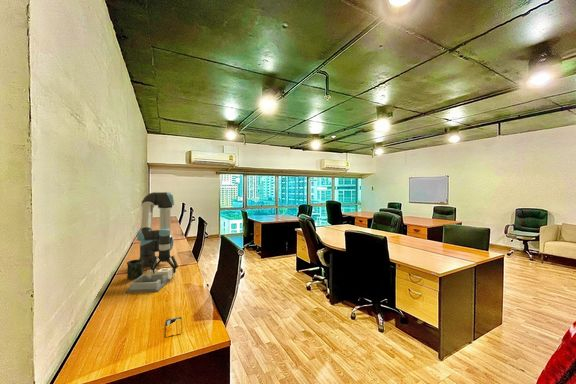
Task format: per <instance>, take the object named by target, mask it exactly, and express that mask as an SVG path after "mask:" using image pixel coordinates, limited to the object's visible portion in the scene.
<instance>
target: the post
mask: <svg viewBox="0 0 576 384" xmlns="http://www.w3.org/2000/svg"><path fill="white" fill-rule="evenodd" d="M146 274H147V282H152V274H153V269H150V268H148V269H147V270H146Z"/></svg>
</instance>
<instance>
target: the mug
mask: <svg viewBox="0 0 576 384" xmlns="http://www.w3.org/2000/svg"><path fill="white" fill-rule="evenodd" d="M143 261H144V260H141V259H132V260H128V261H127V262H126V265H127V269H126V271H127V272H126V273H127V275H126V277H127V280H136V279H137V278H138V277H140V276H141V275H144V267H143Z"/></svg>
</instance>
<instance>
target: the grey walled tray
mask: <svg viewBox="0 0 576 384" xmlns="http://www.w3.org/2000/svg"><path fill="white" fill-rule="evenodd" d="M170 281H171V278H169V279H167V274H153V273H152V282H147V273H146V274H143V275H141V276H140V277H138V278H137V279H133V281H131V282H130V283H129V288H128V289H127V290H125V293H127V294H129V293H130V294H131V293H132V294H133V293H151V292H152V293H156V292H157V293H158V292H159V291H160V290H161V289H163V288H164V287H165V286H166V285H167V284H168V283H169V282H170Z"/></svg>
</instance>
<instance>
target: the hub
mask: <svg viewBox="0 0 576 384" xmlns="http://www.w3.org/2000/svg"><path fill="white" fill-rule="evenodd" d="M172 269H173V268H172V267H167V268H166V267H165V268H164V267H163V268H160V269H157V272H156V274H167V279H171V278H172Z"/></svg>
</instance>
